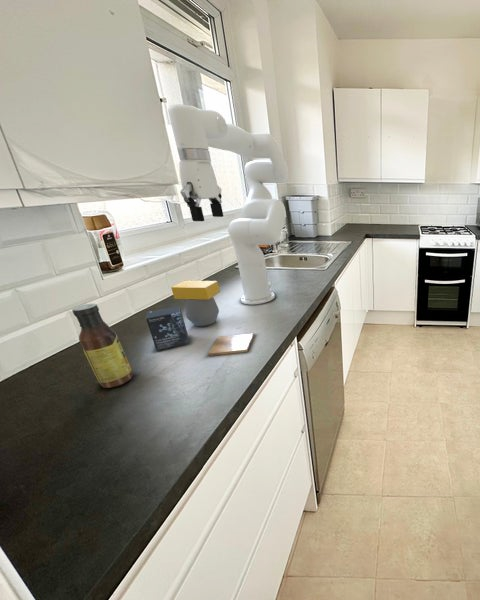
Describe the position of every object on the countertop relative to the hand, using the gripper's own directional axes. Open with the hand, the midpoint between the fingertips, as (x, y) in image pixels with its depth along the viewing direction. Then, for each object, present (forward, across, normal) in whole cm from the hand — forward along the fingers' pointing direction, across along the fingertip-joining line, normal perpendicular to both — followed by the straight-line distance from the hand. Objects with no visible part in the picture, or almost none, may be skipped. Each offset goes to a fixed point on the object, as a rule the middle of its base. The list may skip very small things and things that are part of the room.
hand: (208, 218), depth 94 cm
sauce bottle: (+34, +34, -10) cm, 49 cm away
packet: (+24, +2, -8) cm, 26 cm away
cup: (+34, +2, -8) cm, 35 cm away
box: (+34, +16, -9) cm, 39 cm away
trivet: (+34, +16, +9) cm, 39 cm away
